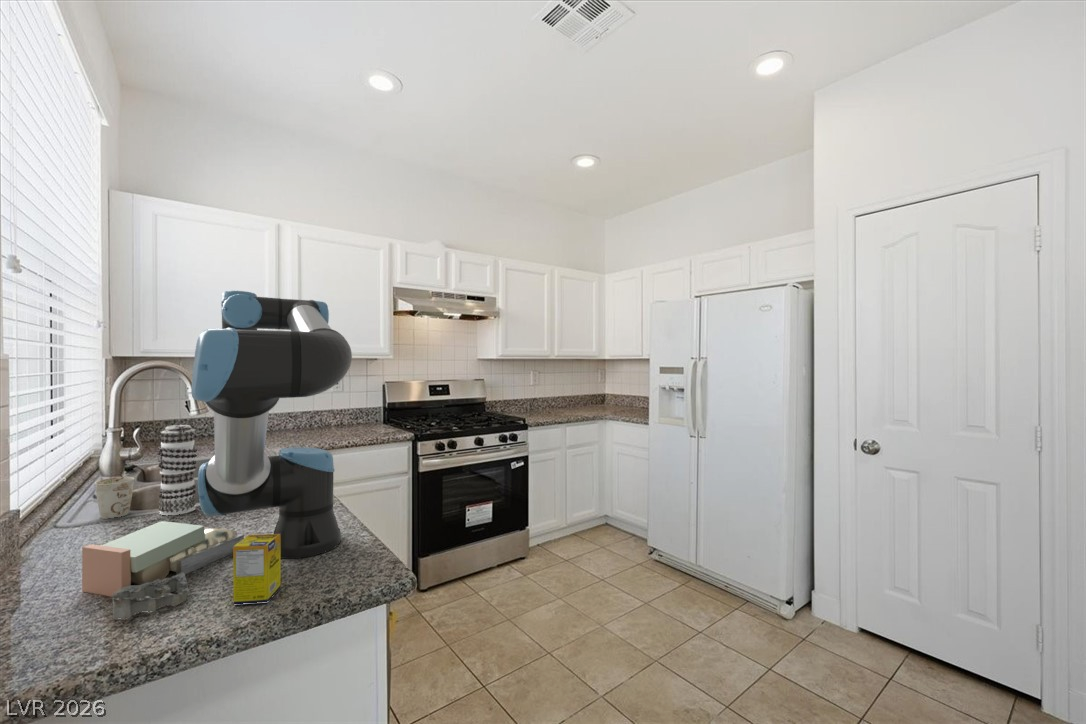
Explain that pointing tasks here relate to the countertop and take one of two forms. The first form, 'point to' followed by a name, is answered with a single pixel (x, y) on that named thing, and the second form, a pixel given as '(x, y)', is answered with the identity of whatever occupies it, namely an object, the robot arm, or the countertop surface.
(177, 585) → the egg carton
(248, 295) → the robot arm
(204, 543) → the roller bed
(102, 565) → the board
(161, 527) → the slab
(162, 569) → the roller
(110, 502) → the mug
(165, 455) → the decorative candle
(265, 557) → the supplement box
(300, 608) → the countertop surface
